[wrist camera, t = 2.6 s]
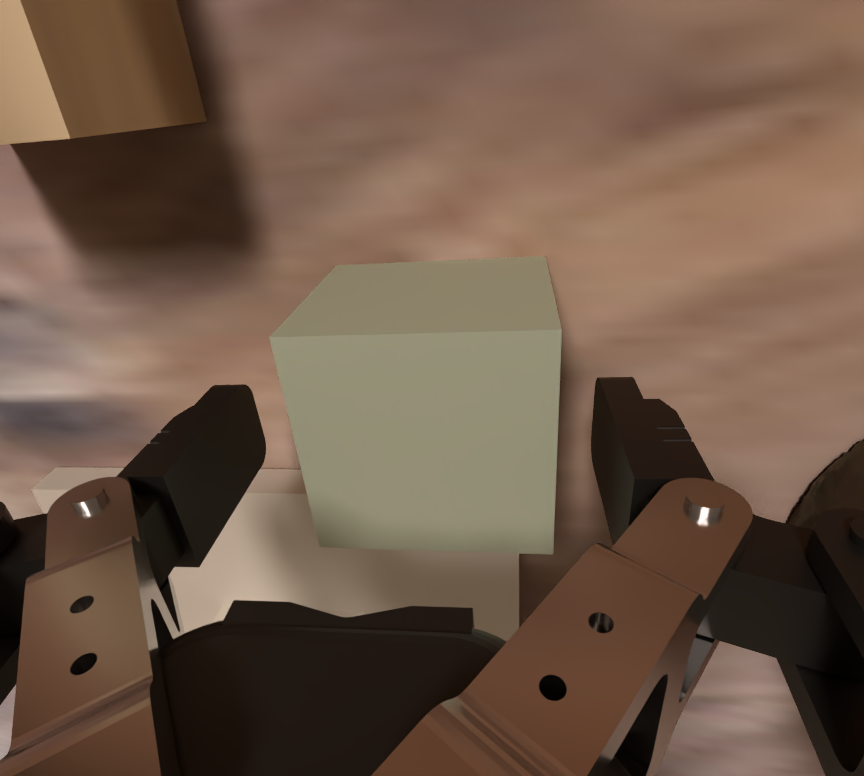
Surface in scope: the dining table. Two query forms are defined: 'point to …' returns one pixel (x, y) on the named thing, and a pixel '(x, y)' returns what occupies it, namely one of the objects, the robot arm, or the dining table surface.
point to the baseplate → (320, 562)
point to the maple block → (93, 69)
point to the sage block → (427, 404)
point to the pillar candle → (834, 489)
